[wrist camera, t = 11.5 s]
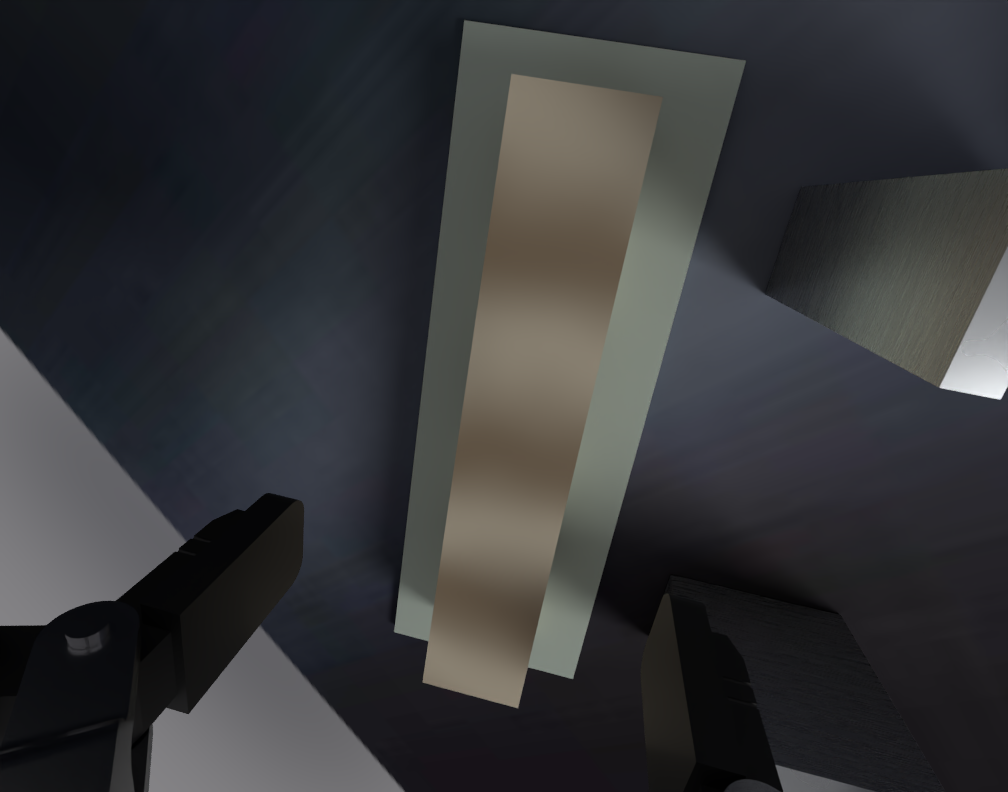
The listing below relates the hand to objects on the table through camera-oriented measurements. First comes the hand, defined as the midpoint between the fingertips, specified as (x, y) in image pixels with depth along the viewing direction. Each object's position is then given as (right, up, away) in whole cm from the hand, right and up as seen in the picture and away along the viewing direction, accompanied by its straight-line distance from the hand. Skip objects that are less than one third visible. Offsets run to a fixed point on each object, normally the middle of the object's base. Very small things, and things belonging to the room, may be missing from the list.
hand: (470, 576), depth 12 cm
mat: (+2, +3, +10) cm, 11 cm away
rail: (+2, +3, +10) cm, 11 cm away
